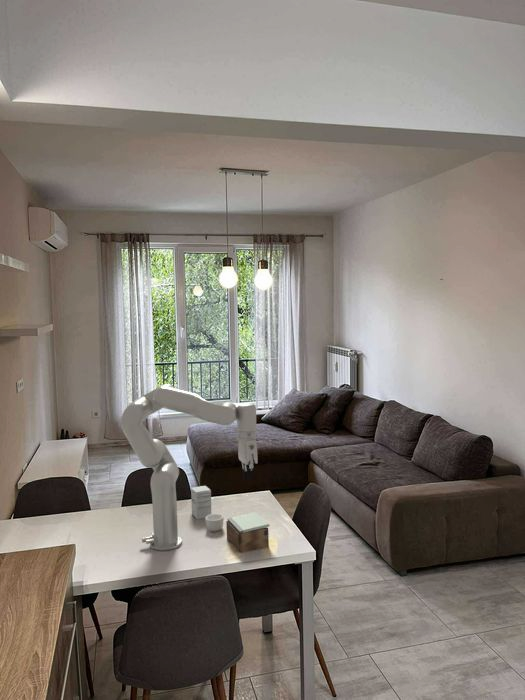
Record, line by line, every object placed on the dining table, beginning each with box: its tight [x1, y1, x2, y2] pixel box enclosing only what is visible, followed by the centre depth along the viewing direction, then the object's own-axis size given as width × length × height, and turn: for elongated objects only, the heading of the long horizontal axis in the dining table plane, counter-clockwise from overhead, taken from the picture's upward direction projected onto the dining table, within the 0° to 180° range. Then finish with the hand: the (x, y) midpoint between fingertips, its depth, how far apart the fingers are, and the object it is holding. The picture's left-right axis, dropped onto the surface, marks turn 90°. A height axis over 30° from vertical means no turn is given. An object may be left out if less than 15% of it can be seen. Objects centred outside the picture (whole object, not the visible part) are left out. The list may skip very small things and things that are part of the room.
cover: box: [227, 511, 270, 533], centre depth 220 cm, size 12×14×1 cm
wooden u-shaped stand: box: [225, 520, 270, 554], centre depth 220 cm, size 12×15×8 cm
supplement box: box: [190, 485, 212, 520], centre depth 251 cm, size 7×7×13 cm
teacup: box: [204, 513, 225, 532], centre depth 236 cm, size 10×8×5 cm
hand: (247, 479), depth 219 cm, fingers closed
